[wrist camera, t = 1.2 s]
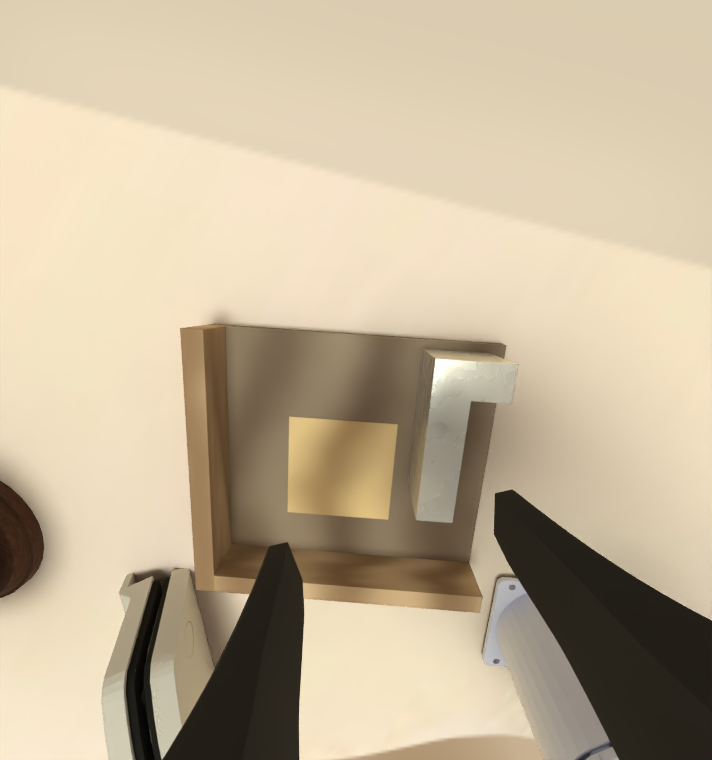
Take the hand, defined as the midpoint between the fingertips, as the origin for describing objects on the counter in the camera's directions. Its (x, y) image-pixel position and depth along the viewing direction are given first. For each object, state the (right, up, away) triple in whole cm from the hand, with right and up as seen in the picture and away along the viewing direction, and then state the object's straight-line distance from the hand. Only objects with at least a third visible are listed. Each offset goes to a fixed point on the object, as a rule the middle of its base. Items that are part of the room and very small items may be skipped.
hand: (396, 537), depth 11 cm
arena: (-1, +1, +11) cm, 11 cm away
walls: (-1, +1, +11) cm, 11 cm away
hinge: (-15, -17, +16) cm, 28 cm away
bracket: (+4, +3, +10) cm, 11 cm away
